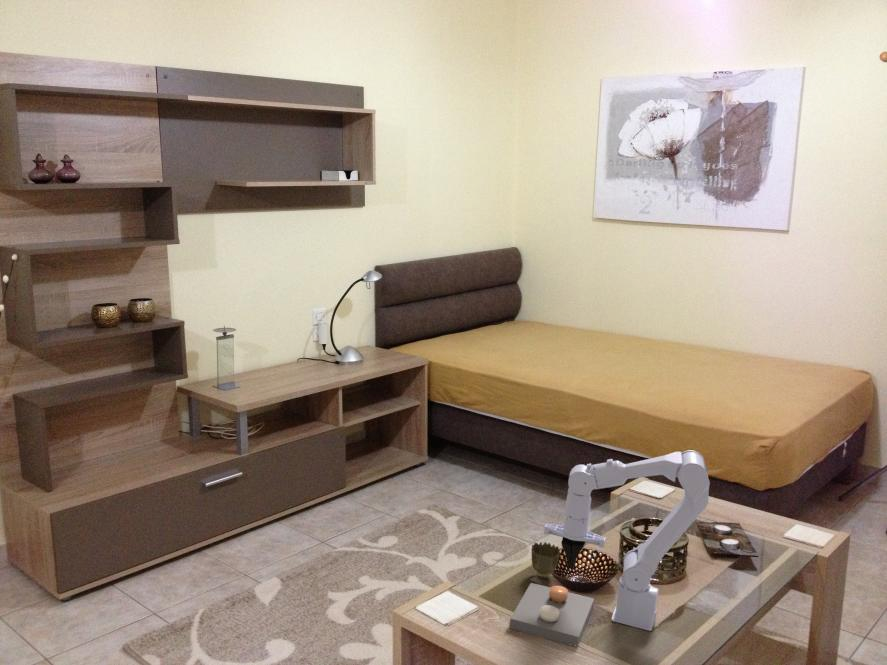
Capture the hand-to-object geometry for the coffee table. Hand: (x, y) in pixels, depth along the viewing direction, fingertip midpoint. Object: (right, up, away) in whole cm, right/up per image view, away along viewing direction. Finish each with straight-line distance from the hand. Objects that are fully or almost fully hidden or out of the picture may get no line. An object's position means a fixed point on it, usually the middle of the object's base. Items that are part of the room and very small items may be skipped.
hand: (570, 566), depth 198 cm
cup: (-5, -7, +15) cm, 18 cm away
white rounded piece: (-7, -12, -8) cm, 15 cm away
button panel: (-5, -11, -3) cm, 13 cm away
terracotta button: (-3, -10, 0) cm, 10 cm away
